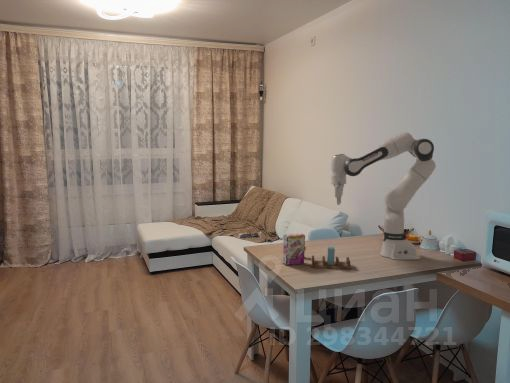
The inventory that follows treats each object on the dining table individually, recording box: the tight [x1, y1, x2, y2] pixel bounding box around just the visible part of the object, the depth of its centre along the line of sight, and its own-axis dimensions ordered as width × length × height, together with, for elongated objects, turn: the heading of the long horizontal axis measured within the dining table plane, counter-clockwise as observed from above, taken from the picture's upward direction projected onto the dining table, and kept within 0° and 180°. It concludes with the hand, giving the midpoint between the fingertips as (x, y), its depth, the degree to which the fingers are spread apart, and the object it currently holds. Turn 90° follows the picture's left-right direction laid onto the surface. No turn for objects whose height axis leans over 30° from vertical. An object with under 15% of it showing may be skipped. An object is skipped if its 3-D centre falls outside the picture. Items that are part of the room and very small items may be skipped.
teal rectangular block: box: [326, 246, 336, 265], centre depth 223 cm, size 4×4×9 cm
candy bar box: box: [282, 232, 306, 266], centre depth 226 cm, size 11×5×16 cm, turn 111°
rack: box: [311, 255, 351, 271], centre depth 224 cm, size 20×10×4 cm, turn 83°
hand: (339, 204), depth 248 cm, fingers open, 8 cm apart
